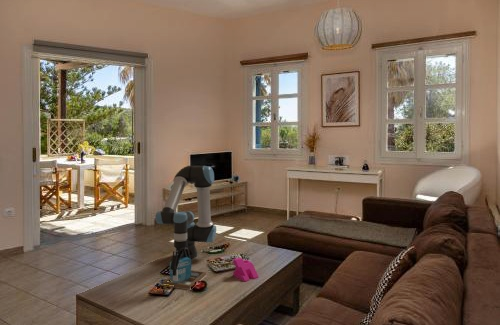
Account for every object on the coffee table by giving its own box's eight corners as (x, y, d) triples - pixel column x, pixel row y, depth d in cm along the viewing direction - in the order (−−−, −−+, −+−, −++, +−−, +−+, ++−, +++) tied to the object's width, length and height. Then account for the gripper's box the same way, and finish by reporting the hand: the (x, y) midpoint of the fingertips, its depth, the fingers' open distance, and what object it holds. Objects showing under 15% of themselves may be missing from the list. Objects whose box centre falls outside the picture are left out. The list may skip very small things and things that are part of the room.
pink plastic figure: (233, 275, 232) (233, 259, 231) (246, 271, 238) (246, 255, 237) (244, 281, 222) (244, 264, 221) (258, 277, 229) (258, 261, 228)
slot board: (180, 272, 235) (180, 268, 235) (206, 276, 230) (206, 271, 230) (161, 286, 214) (161, 281, 214) (190, 290, 209) (190, 286, 209)
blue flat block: (174, 284, 211) (174, 263, 210) (169, 281, 214) (169, 261, 213) (191, 277, 220) (191, 257, 219) (186, 275, 223) (186, 255, 222)
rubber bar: (181, 274, 231) (181, 271, 230) (199, 276, 227) (199, 273, 227) (178, 276, 227) (178, 273, 227) (196, 279, 223) (196, 276, 223)
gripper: (184, 233, 228) (185, 268, 230) (163, 245, 205) (164, 283, 206) (196, 234, 226) (196, 269, 228) (175, 246, 202) (176, 285, 204)
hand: (180, 276), depth 217 cm, fingers closed on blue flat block, 13 cm apart
